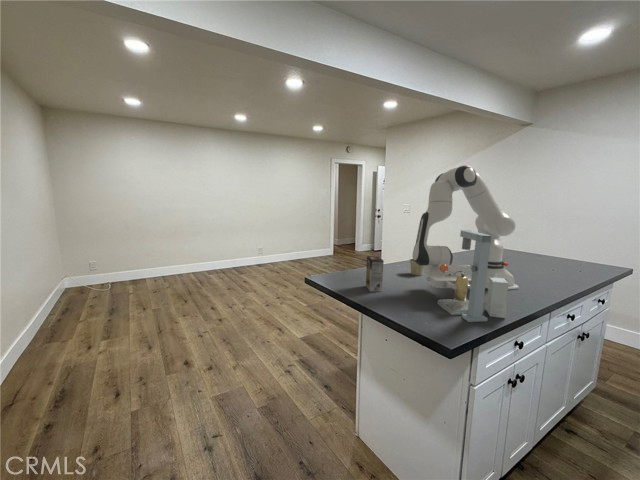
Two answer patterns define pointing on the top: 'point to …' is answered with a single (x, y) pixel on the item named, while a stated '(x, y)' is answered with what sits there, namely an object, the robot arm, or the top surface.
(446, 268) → the lever
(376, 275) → the coffee box
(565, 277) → the top surface
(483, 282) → the frame
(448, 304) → the press bed
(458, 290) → the cylinder
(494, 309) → the skincare box
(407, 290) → the top surface
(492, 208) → the robot arm
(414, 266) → the flower pot
